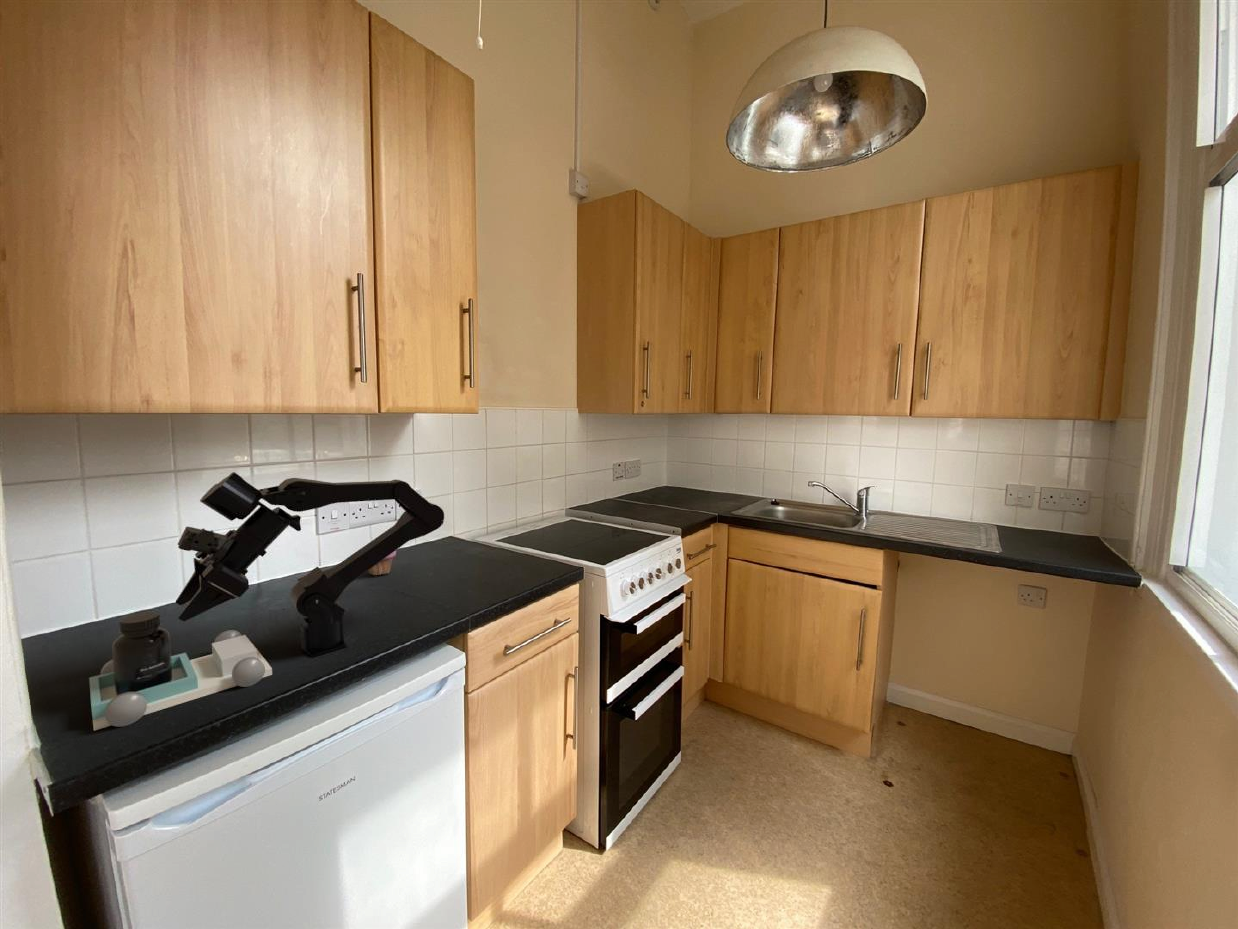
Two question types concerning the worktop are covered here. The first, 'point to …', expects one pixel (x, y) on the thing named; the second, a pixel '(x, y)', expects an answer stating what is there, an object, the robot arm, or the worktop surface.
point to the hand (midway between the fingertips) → (179, 611)
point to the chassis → (180, 681)
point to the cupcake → (383, 565)
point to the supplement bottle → (141, 654)
